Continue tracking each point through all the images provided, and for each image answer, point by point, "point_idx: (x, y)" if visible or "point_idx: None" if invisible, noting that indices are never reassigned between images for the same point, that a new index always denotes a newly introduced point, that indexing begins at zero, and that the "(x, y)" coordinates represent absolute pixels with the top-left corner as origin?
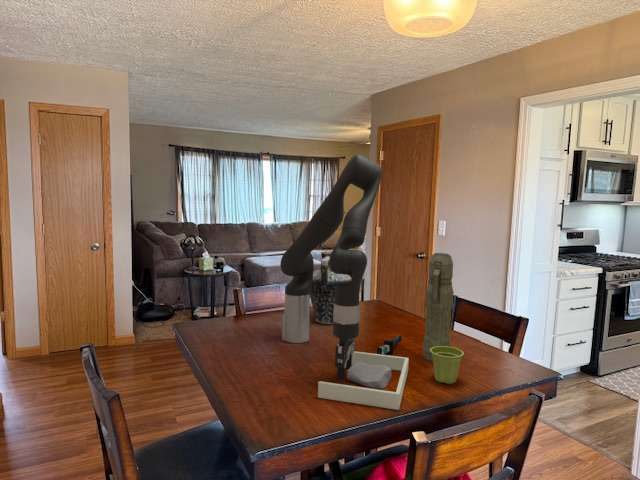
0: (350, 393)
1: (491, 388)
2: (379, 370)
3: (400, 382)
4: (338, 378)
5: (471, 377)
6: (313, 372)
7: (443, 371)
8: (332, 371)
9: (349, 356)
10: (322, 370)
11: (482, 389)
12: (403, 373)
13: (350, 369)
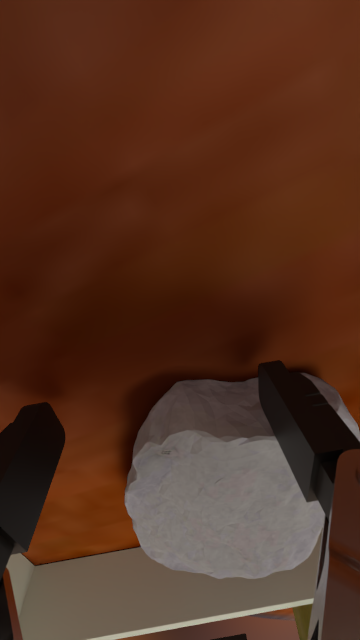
0: None
1: (291, 614)
2: (226, 560)
3: (113, 637)
4: (7, 430)
5: None
6: (165, 49)
7: (301, 638)
8: (268, 240)
9: (319, 499)
10: (260, 134)
11: (279, 610)
12: (218, 618)
13: (197, 446)
